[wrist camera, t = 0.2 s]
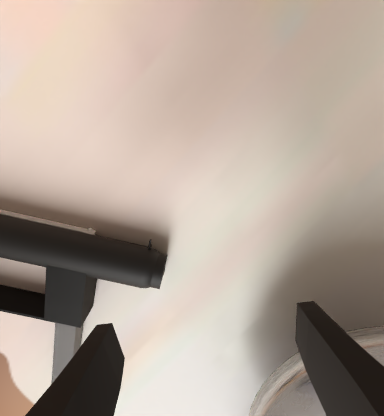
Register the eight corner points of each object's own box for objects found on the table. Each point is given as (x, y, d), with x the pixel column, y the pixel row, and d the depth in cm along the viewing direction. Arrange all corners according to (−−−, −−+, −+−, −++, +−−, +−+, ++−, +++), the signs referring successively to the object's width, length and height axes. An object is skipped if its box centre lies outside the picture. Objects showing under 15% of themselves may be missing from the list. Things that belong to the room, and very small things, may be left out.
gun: (132, 410, 23) (168, 251, 17) (-102, 363, 22) (-142, 182, 17) (141, 374, 26) (173, 230, 21) (-64, 332, 25) (-87, 171, 20)
